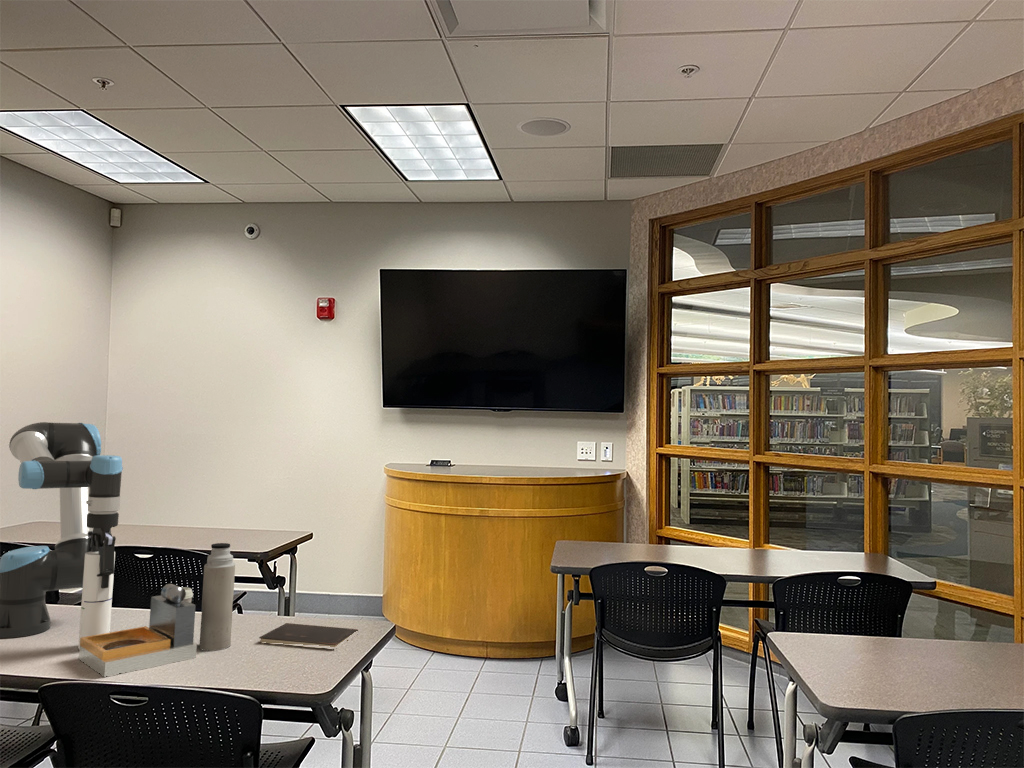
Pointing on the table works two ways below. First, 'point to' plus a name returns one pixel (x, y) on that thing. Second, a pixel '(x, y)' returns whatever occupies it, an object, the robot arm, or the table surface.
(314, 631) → the hardcover book
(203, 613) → the thermos bottle
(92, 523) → the robot arm
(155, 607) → the grey stand with tray
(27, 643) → the table surface
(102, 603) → the cylindrical container
